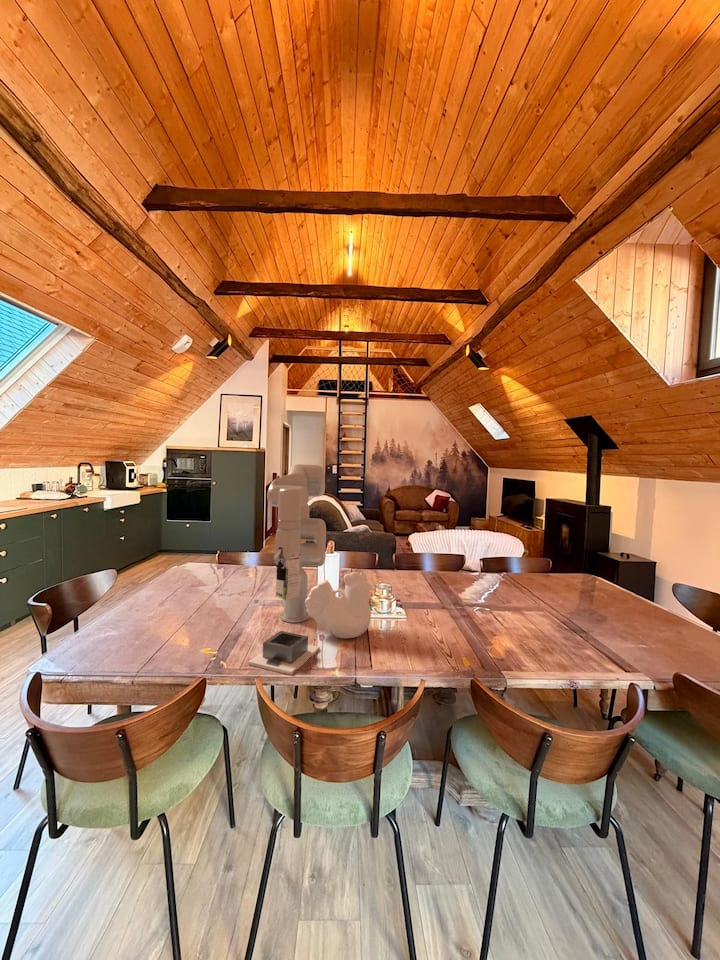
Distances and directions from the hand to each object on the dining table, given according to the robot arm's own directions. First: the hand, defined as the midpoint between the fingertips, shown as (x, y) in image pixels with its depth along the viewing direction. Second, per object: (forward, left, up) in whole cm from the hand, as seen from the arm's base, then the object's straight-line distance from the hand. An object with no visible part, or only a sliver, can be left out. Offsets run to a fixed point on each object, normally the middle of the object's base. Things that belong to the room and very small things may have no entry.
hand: (287, 576), depth 148 cm
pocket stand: (0, 0, -28) cm, 28 cm away
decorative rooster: (-26, +8, -28) cm, 39 cm away
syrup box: (0, 0, -7) cm, 7 cm away
